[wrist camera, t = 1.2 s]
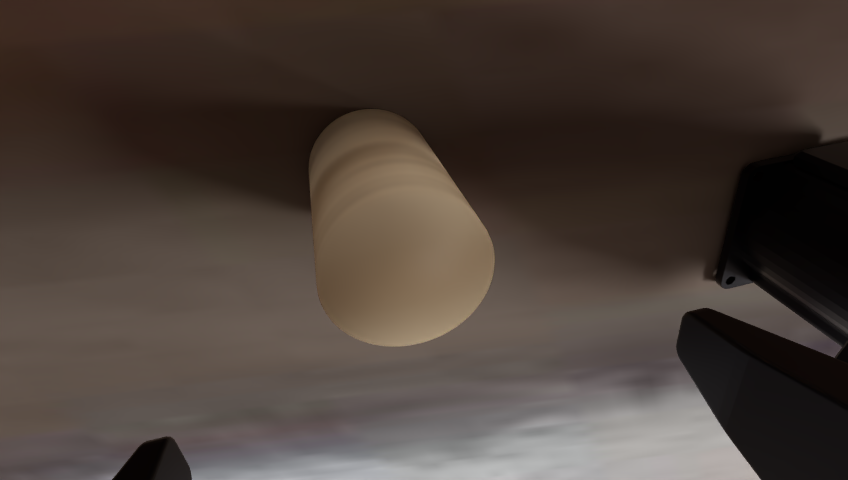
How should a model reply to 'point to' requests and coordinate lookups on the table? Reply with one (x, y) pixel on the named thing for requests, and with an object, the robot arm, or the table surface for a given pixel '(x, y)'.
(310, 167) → the birch peg
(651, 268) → the table surface
